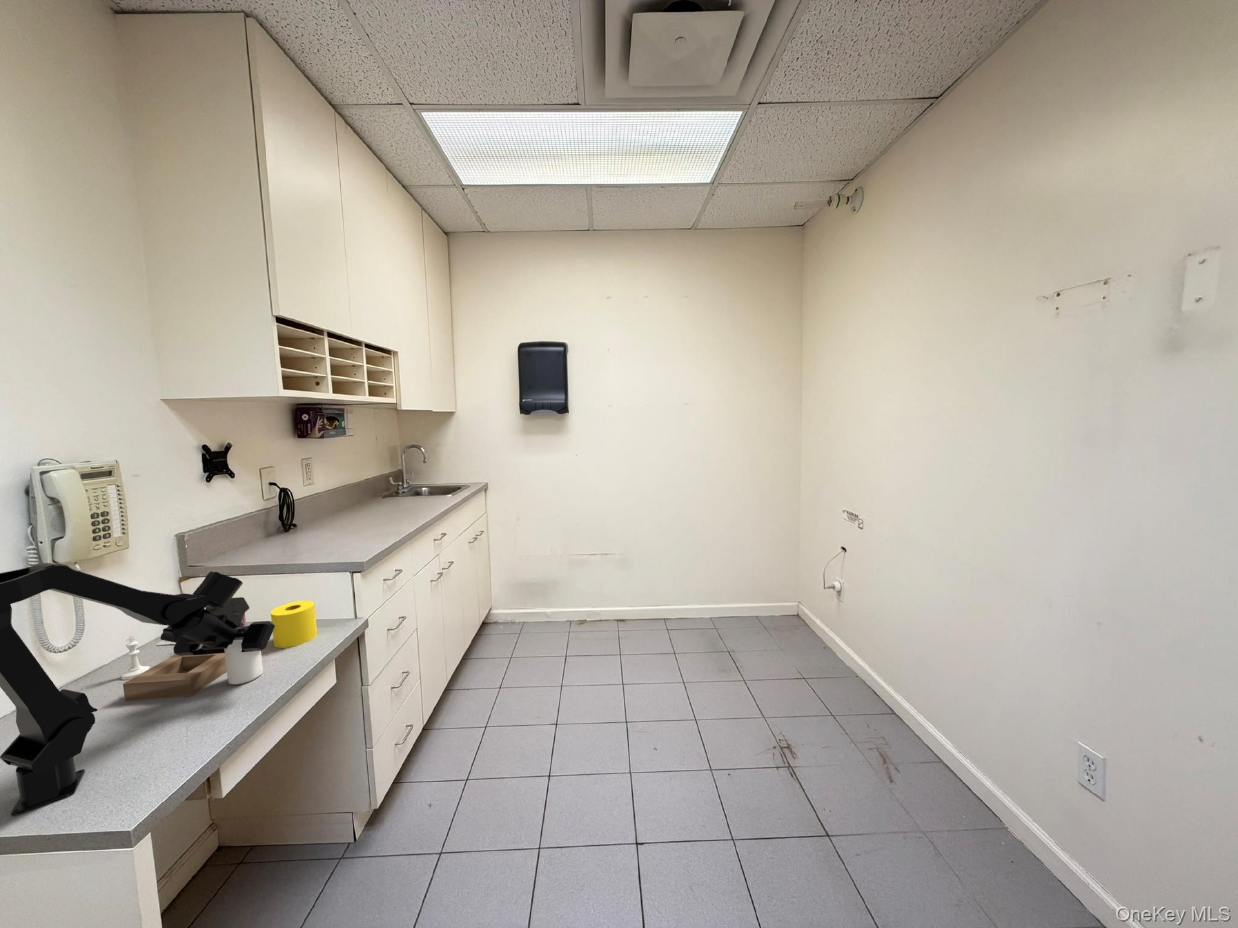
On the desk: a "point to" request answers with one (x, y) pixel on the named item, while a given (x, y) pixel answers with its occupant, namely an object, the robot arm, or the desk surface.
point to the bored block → (176, 677)
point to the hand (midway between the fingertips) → (247, 648)
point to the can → (242, 663)
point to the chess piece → (133, 661)
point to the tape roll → (294, 624)
